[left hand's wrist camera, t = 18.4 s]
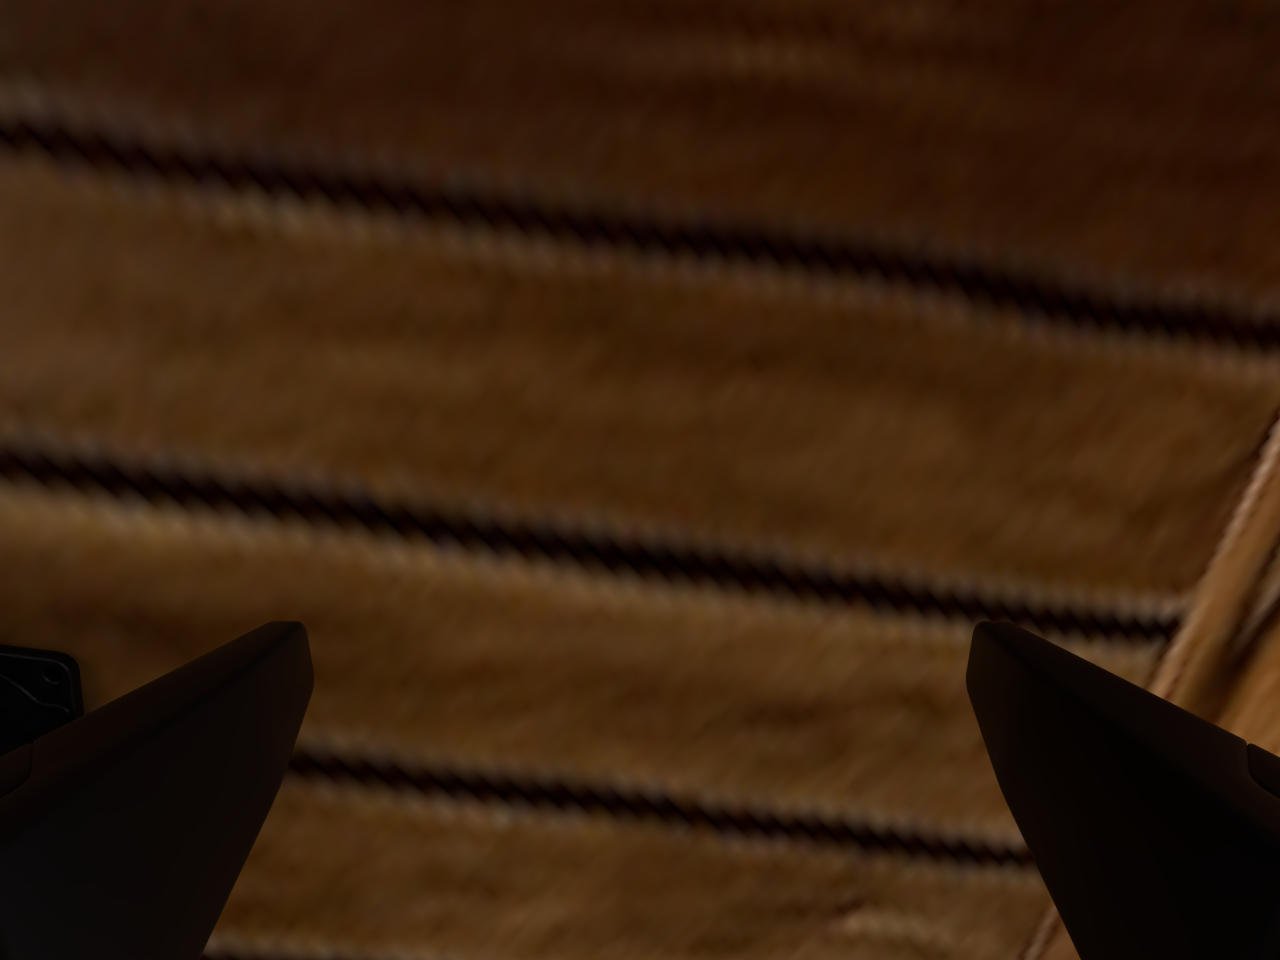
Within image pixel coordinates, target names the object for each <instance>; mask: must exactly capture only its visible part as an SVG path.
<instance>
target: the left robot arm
mask: <svg viewBox="0 0 1280 960" xmlns="http://www.w3.org/2000/svg"><path fill="white" fill-rule="evenodd" d="M53 668H55V669H57V670H58V671H59V672H60V673H61V674H59V673H57V672H56V671H55V670H54V669H53ZM313 686H314V672H313V666H312V660H311V654H310V648H309V642H308V636H307V631H306V629H305V627H304V625H303V624H302V623H301V622H297V621H274V622H269V623H267V624H265V625H263V626H261V627H259V628H257V629H255V630H253V631H251V632H249V633H247V634H245V635H243V636H241V637H239V638H237V639H235V640H233V641H231V642H229V643H227V644H225V645H223V646H221V647H219V648H217V649H215V650H213V651H211V652H209V653H207V654H205V655H203V656H201V657H199V658H197V659H195V660H193V661H191V662H189V663H187V664H185V665H183V666H181V667H179V668H177V669H176V670H174V671H172V672H170V673H168V674H166V675H164V676H162V677H160V678H158V679H156V680H154V681H152V682H150V683H148V684H146V685H144V686H142V687H140V688H138V689H136V690H134V691H132V692H130V693H128V694H126V695H124V696H122V697H120V698H118V699H116V700H114V701H112V702H110V703H108V704H106V705H104V706H102V707H100V708H98V709H96V710H94V711H92V712H90V713H88V714H86V715H84V710H83V700H82V690H81V680H80V671H79V667H78V664H77V662H76V661H75V660H74V659H73V658H72V657H70V656H69V655H67V654H64V653H61V652H55V651H47V650H39V649H31V648H24V647H16V646H8V645H1V644H0V960H199V959H200V957H201V954H202V952H203V950H204V948H205V946H206V944H207V942H208V940H209V937H210V935H211V933H212V931H213V929H214V927H215V925H216V923H217V921H218V918H219V916H220V914H221V912H222V910H223V908H224V906H225V904H226V902H227V899H228V897H229V895H230V893H231V891H232V889H233V887H234V885H235V882H236V880H237V878H238V876H239V874H240V872H241V870H242V868H243V866H244V863H245V861H246V859H247V857H248V855H249V853H250V851H251V849H252V847H253V844H254V842H255V840H256V838H257V836H258V834H259V832H260V830H261V827H262V825H263V823H264V821H265V819H266V817H267V815H268V813H269V811H270V808H271V806H272V804H273V802H274V800H275V797H276V795H277V793H278V791H279V788H280V786H281V783H282V780H283V777H284V775H285V772H286V769H287V766H288V763H289V760H290V757H291V754H292V751H293V748H294V745H295V742H296V739H297V736H298V733H299V730H300V727H301V724H302V721H303V718H304V715H305V712H306V709H307V706H308V703H309V700H310V697H311V694H312V691H313ZM966 686H967V691H968V694H969V697H970V700H971V703H972V706H973V709H974V712H975V715H976V718H977V721H978V724H979V727H980V730H981V733H982V736H983V739H984V742H985V745H986V748H987V751H988V754H989V757H990V760H991V763H992V766H993V769H994V772H995V775H996V777H997V780H998V783H999V786H1000V788H1001V791H1002V793H1003V795H1004V797H1005V800H1006V802H1007V804H1008V806H1009V808H1010V811H1011V813H1012V815H1013V817H1014V819H1015V821H1016V823H1017V825H1018V827H1019V830H1020V832H1021V834H1022V836H1023V838H1024V840H1025V842H1026V844H1027V847H1028V849H1029V851H1030V853H1031V855H1032V857H1033V859H1034V861H1035V863H1036V866H1037V868H1038V870H1039V872H1040V874H1041V876H1042V878H1043V880H1044V882H1045V885H1046V887H1047V889H1048V891H1049V893H1050V895H1051V897H1052V899H1053V902H1054V904H1055V906H1056V908H1057V910H1058V912H1059V914H1060V916H1061V918H1062V921H1063V923H1064V925H1065V927H1066V929H1067V931H1068V933H1069V935H1070V937H1071V940H1072V942H1073V944H1074V946H1075V948H1076V950H1077V952H1078V954H1079V957H1080V959H1081V960H1280V757H1278V756H1276V755H1274V754H1272V753H1270V752H1268V751H1266V750H1264V749H1262V748H1260V747H1258V746H1256V745H1254V744H1248V745H1247V743H1246V741H1245V740H1244V739H1242V738H1240V737H1238V736H1236V735H1234V734H1232V733H1230V732H1228V731H1226V730H1224V729H1222V728H1220V727H1218V726H1216V725H1214V724H1212V723H1210V722H1208V721H1206V720H1204V719H1202V718H1200V717H1198V716H1196V715H1194V714H1192V713H1190V712H1188V711H1186V710H1184V709H1182V708H1180V707H1178V706H1176V705H1174V704H1172V703H1170V702H1168V701H1166V700H1164V699H1162V698H1160V697H1158V696H1156V695H1154V694H1152V693H1150V692H1148V691H1146V690H1144V689H1142V688H1140V687H1138V686H1136V685H1134V684H1132V683H1130V682H1128V681H1126V680H1124V679H1122V678H1120V677H1118V676H1116V675H1114V674H1112V673H1110V672H1108V671H1106V670H1104V669H1103V668H1101V667H1099V666H1097V665H1095V664H1093V663H1091V662H1089V661H1087V660H1085V659H1083V658H1081V657H1079V656H1077V655H1075V654H1073V653H1071V652H1069V651H1067V650H1065V649H1063V648H1061V647H1059V646H1057V645H1055V644H1053V643H1051V642H1049V641H1047V640H1045V639H1043V638H1041V637H1039V636H1037V635H1035V634H1033V633H1031V632H1029V631H1027V630H1025V629H1023V628H1021V627H1019V626H1017V625H1015V624H1013V623H1011V622H1006V621H983V622H979V623H978V624H977V625H976V627H975V629H974V631H973V636H972V642H971V648H970V654H969V660H968V666H967V672H966Z"/></svg>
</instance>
